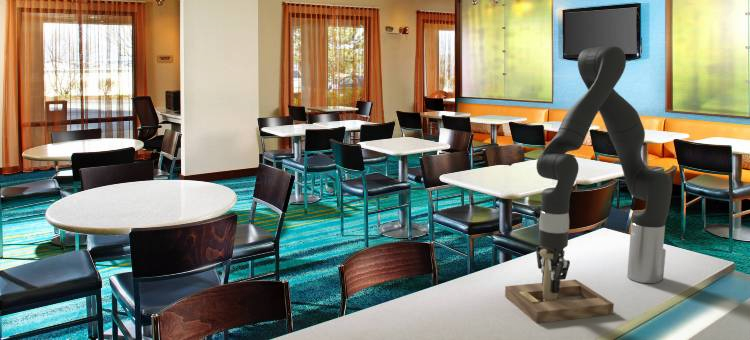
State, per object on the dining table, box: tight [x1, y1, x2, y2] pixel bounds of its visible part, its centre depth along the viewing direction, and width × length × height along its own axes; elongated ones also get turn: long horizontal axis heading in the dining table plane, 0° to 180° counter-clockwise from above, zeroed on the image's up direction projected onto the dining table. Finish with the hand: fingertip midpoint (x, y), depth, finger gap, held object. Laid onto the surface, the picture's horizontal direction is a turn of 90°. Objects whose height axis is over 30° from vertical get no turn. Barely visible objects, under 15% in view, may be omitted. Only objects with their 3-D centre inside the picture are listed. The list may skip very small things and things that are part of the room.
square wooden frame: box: [504, 279, 615, 324], centre depth 166 cm, size 22×18×3 cm
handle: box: [540, 249, 566, 302], centre depth 164 cm, size 5×6×15 cm
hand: (550, 289), depth 164 cm, fingers closed on handle, 4 cm apart
